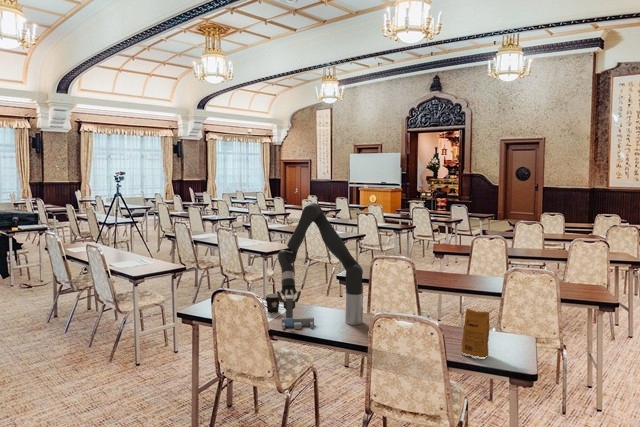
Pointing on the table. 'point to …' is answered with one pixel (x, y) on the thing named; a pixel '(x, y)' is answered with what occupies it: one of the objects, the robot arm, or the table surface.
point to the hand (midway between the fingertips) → (289, 308)
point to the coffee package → (476, 333)
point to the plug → (289, 306)
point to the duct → (297, 322)
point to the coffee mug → (272, 303)
